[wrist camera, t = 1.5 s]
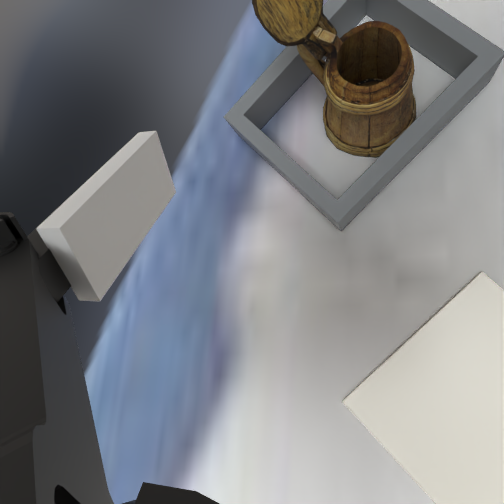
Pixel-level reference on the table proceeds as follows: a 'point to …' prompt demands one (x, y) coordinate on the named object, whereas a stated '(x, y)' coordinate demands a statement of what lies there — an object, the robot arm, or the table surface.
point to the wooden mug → (350, 73)
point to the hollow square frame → (413, 138)
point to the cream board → (445, 400)
